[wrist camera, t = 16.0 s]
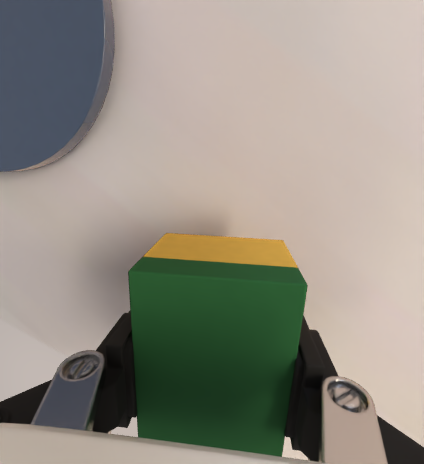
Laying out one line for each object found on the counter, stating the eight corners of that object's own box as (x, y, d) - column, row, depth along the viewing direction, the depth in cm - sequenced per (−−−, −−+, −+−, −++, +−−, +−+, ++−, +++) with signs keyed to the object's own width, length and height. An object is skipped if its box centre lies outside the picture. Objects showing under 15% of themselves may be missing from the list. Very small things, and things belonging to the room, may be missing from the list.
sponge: (165, 232, 11) (127, 271, 7) (283, 239, 11) (308, 284, 7) (168, 380, 13) (139, 470, 9) (265, 391, 13) (277, 490, 9)
